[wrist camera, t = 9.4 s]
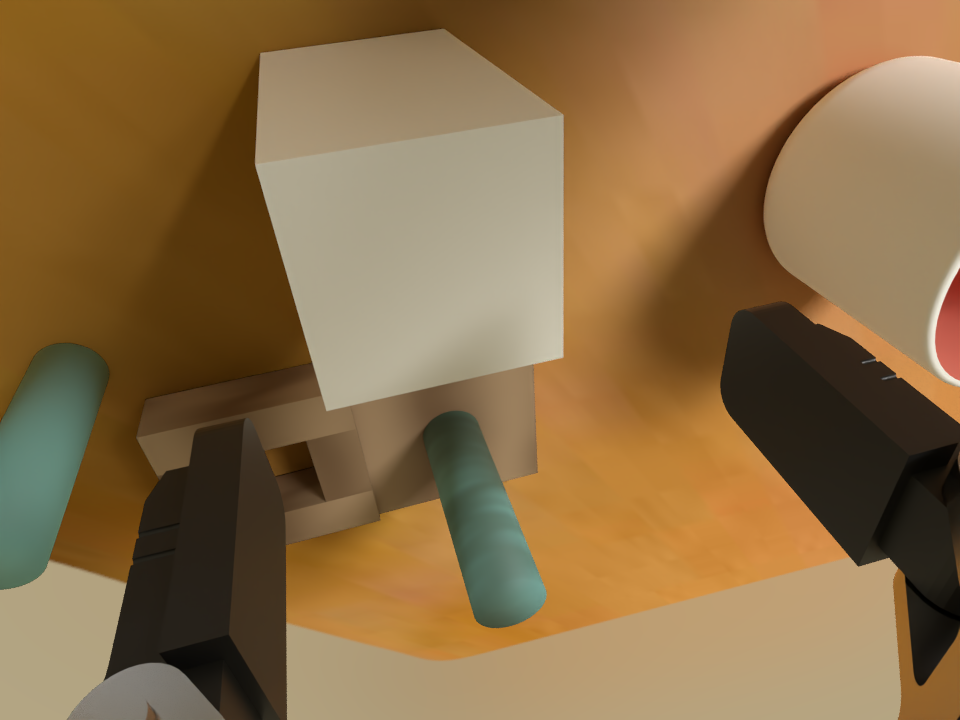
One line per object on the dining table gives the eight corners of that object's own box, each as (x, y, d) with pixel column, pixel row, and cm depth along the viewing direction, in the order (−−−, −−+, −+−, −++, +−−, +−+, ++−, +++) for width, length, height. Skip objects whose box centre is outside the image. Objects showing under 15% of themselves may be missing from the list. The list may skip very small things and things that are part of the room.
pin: (91, 336, 24) (19, 516, 17) (120, 389, 26) (64, 574, 19) (17, 351, 24) (-89, 542, 17) (50, 404, 25) (-33, 599, 18)
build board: (340, 356, 28) (345, 390, 26) (373, 484, 32) (380, 520, 30) (145, 399, 26) (136, 437, 24) (210, 525, 31) (206, 565, 29)
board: (518, 318, 29) (625, 496, 20) (525, 446, 34) (613, 634, 25) (340, 356, 28) (373, 564, 19) (373, 484, 32) (412, 696, 24)
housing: (443, 28, 21) (563, 114, 13) (460, 199, 25) (563, 357, 16) (260, 53, 20) (255, 164, 12) (305, 227, 24) (326, 411, 15)
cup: (991, 102, 29) (1260, 176, 21) (848, 291, 33) (1027, 410, 26) (851, 7, 25) (1122, 55, 17) (708, 238, 29) (870, 361, 21)
